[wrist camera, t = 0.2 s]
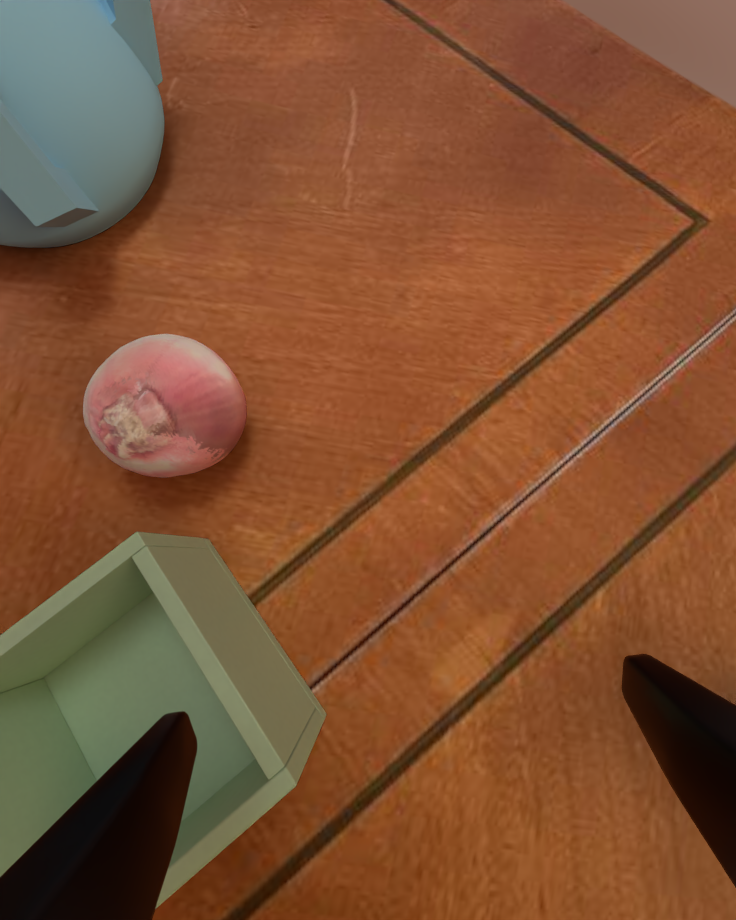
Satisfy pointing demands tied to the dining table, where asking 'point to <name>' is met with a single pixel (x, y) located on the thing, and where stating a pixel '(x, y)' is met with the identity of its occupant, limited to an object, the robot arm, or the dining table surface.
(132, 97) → the teapot
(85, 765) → the waste bin
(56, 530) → the dining table surface
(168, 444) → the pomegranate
